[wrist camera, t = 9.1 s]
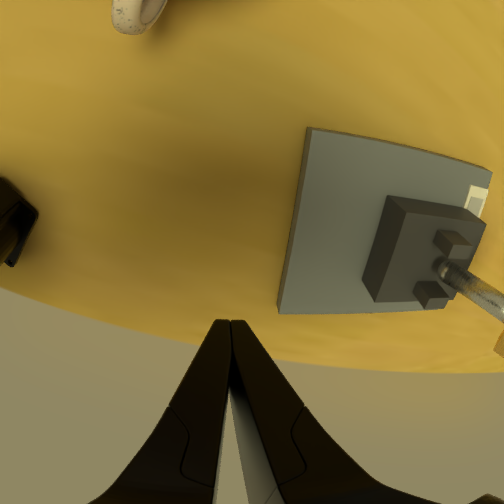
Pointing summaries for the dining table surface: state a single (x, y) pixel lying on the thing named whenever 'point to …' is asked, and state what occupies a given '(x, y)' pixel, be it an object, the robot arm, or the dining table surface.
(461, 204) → the switch board
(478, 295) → the lever
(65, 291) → the dining table surface
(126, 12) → the teacup with lid
